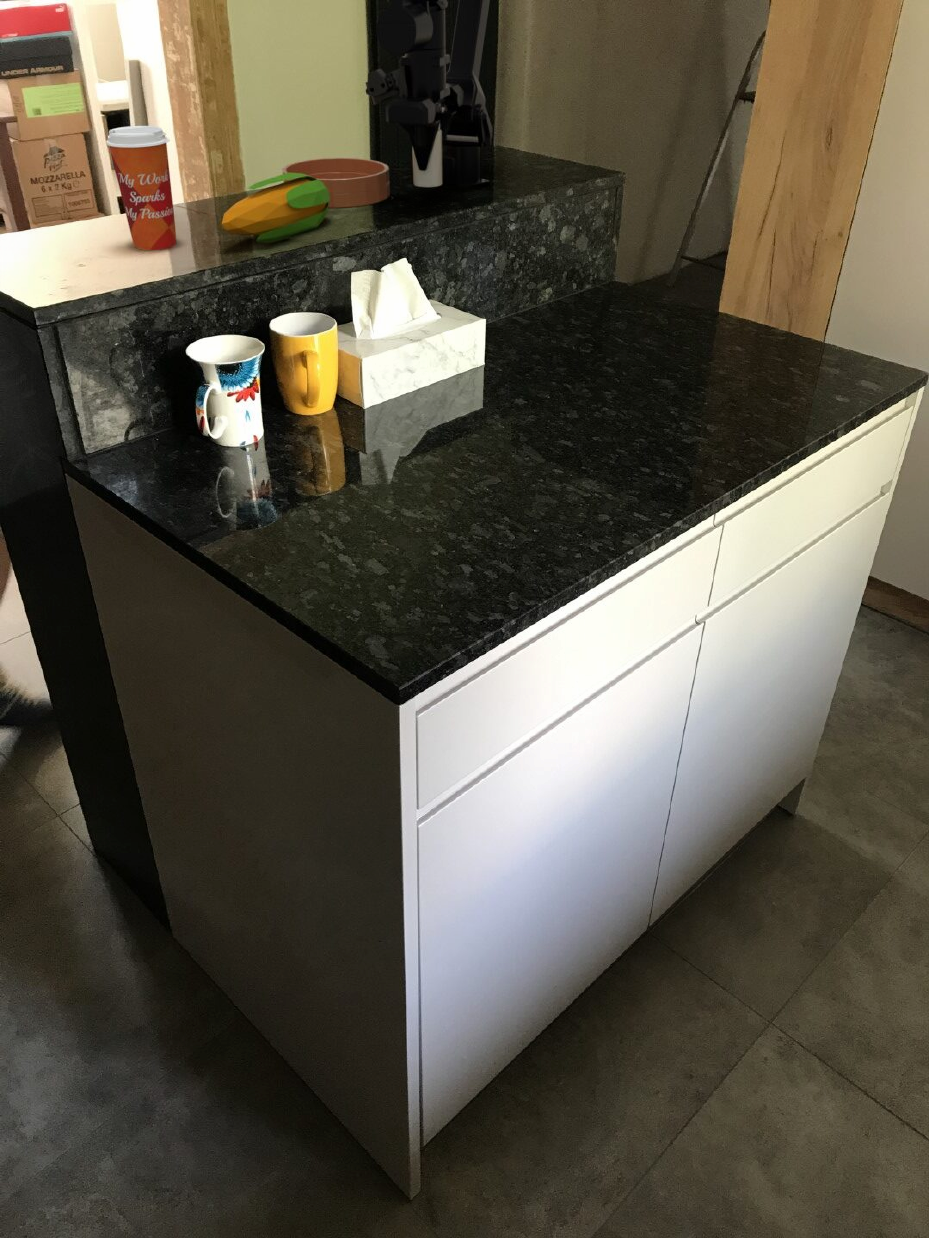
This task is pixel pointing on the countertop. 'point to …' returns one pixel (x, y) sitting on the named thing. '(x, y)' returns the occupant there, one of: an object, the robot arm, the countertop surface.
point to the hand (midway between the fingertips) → (427, 167)
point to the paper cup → (144, 184)
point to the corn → (279, 208)
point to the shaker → (430, 166)
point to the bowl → (347, 179)
